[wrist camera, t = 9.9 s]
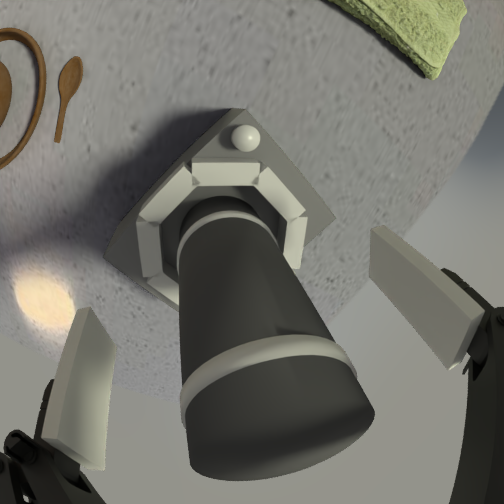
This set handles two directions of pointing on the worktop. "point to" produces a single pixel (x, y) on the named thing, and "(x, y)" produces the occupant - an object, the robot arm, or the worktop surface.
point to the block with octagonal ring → (217, 184)
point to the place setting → (67, 86)
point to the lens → (256, 354)
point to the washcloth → (413, 27)
